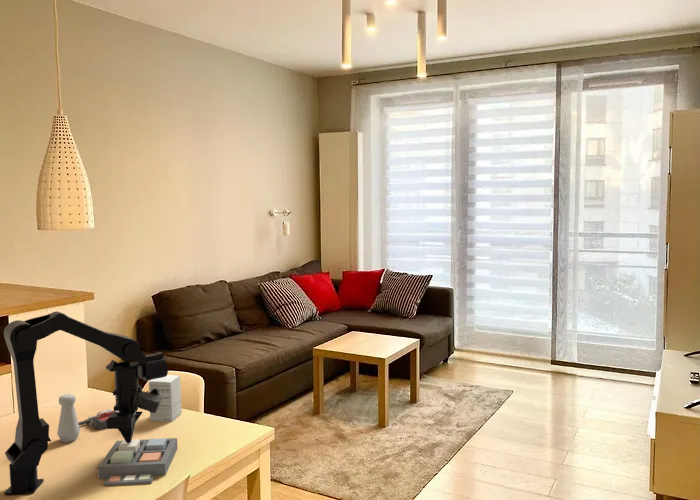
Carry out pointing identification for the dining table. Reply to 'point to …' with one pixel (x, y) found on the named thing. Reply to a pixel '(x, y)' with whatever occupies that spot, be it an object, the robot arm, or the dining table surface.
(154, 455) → the key terracotta
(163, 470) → the keypad
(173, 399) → the supplement box
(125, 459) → the key sage
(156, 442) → the key slate
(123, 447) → the key offwhite
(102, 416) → the walkie-talkie
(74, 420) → the salt shaker
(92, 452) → the dining table surface
